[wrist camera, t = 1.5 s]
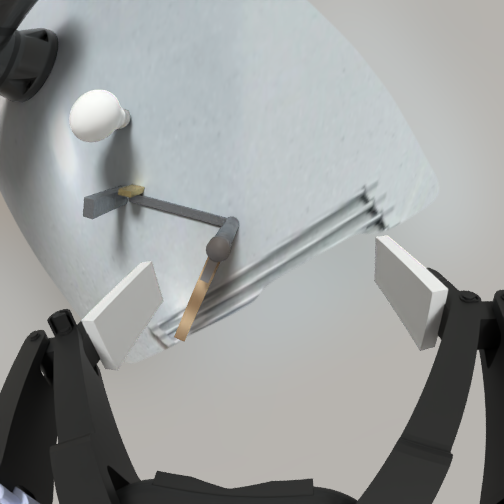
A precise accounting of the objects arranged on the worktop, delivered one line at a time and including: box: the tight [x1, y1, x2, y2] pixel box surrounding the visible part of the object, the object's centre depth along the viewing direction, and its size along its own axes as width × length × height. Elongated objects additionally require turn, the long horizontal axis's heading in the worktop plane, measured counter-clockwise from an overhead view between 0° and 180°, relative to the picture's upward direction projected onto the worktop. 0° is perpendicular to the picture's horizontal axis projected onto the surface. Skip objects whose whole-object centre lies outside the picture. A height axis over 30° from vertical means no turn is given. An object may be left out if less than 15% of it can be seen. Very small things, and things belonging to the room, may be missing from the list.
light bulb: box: [69, 90, 130, 142], centre depth 28 cm, size 7×7×11 cm
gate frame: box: [83, 184, 239, 244], centre depth 33 cm, size 19×3×9 cm, turn 75°
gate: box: [174, 236, 231, 341], centre depth 35 cm, size 17×2×10 cm, turn 155°
